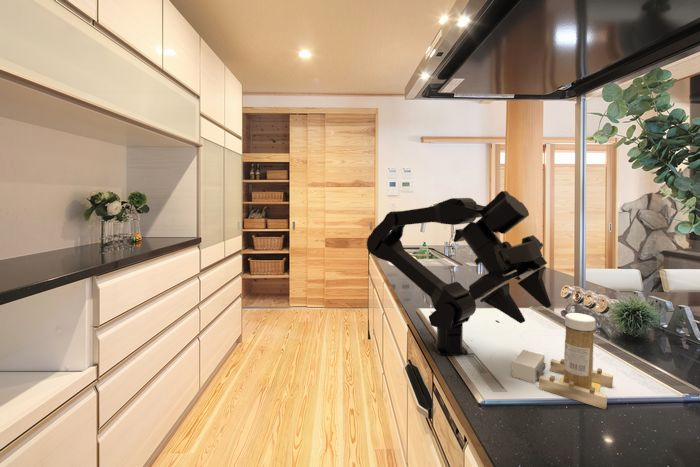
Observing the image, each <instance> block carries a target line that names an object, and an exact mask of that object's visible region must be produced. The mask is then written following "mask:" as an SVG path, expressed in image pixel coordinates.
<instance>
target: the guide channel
mask: <svg viewBox="0 0 700 467" xmlns="http://www.w3.org/2000/svg"><path fill="white" fill-rule="evenodd" d="M549 364H550V366H549V368H550V369H549V370H550V372H554V373H557V374H561V375H564V358H561V359H560V360H558V359H557V360H556V359H553V358H552V359H551V360H550V363H549ZM555 378H556V377H555V375H550V377H547V376H544V375H541V376H540V377H538V389H539V388H540V389H541V390H543V391H546V392H549V393H553V394H555V395H558V396H562V397H565V398H568V399H571V400H575V401H577V402H581V403H584V404H587V405H589V406H594V407H596V408H600V409H602V410H607V406H608V405H607V404H608V394H605V393H601V392H600V391H599V392H595V388H593V387H591V388H590V390H589V389H585V388H582V387H578V386H575V385H574V382H573V381H570V383H569V384H568V383H565V382H561V381H560V380H558V379H555ZM613 381H614V375H613V374H610V373H607V372H604V371H603V369H602V368H597V370H595V369H593V373H592V382H594V383H598V384H601V386H603V387H606V386H607V387H606V388H611V389H612V388H613V386H614V384H613Z"/></svg>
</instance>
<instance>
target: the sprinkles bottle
mask: <svg viewBox="0 0 700 467" xmlns="http://www.w3.org/2000/svg"><path fill="white" fill-rule="evenodd" d="M596 324H597V323H596V318H595V317H594V316H592V315H588V314H585V313H580V312H579V313H578V312H571V313H569V312H568V313H566V314H565V316H564V325H565V326H564V327H565V336H564V337H565V340H564V357H563V359H564V374H563V375H564V380H563V382H565V383H568V384H569V383H570V381H573V382H574V385H575V386H578V387H582V388H585V389H589V390H590V388H591V387H592V373H593V370H594V338H595V336H594V334H595V330H596Z"/></svg>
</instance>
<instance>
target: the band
mask: <svg viewBox="0 0 700 467" xmlns="http://www.w3.org/2000/svg"><path fill="white" fill-rule="evenodd" d="M563 380H564V374H562V376H561V378H560V380H559V381H561V382H563ZM601 386H602V385H601V384H598V383H594V382H592V387H593V388H595V392H599V393H600V390H601V388H602V387H601Z"/></svg>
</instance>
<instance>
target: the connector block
mask: <svg viewBox="0 0 700 467" xmlns="http://www.w3.org/2000/svg"><path fill="white" fill-rule="evenodd" d="M545 359H546V357H545V354H541V353H537V352H533V351H529V350H526V349H522V351H521V352H520V353H519V354H518V355H517V356H516V357H515V359H513V361H512V370H511V372H512V373H511V377H513V376H514V377H513V378H517V379H519V378H520V379H519V380H522V381H525V382H530V383H532V384H535V383H536V382H537V380H539V377H540V376H542V374H543V373H544V371H545V370H546V362H545Z"/></svg>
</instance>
